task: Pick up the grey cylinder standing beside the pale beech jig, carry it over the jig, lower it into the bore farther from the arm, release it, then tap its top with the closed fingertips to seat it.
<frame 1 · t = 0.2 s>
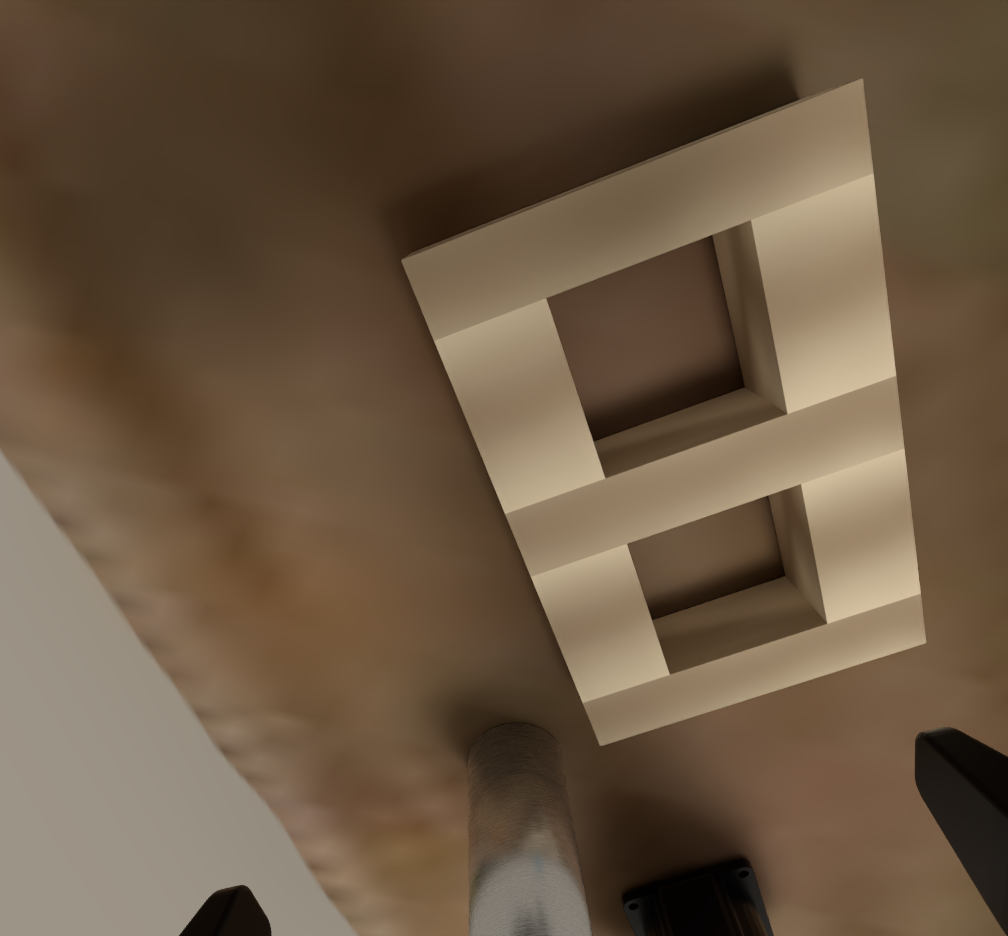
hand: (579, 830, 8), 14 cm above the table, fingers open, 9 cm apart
jig: (673, 446, 21), on the table
grey cylinder: (514, 758, 27), on the table
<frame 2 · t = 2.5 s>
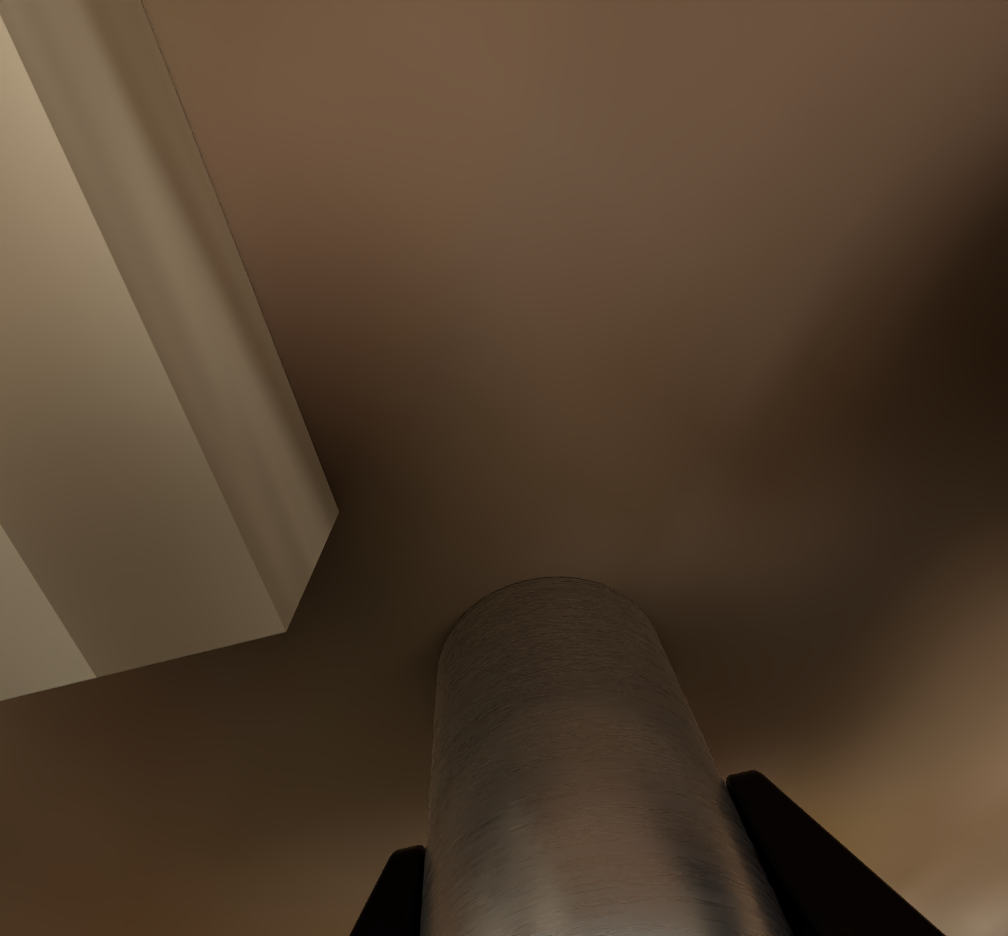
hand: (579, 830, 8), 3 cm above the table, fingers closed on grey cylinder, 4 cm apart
grey cylinder: (550, 674, 11), on the table, touching gripper
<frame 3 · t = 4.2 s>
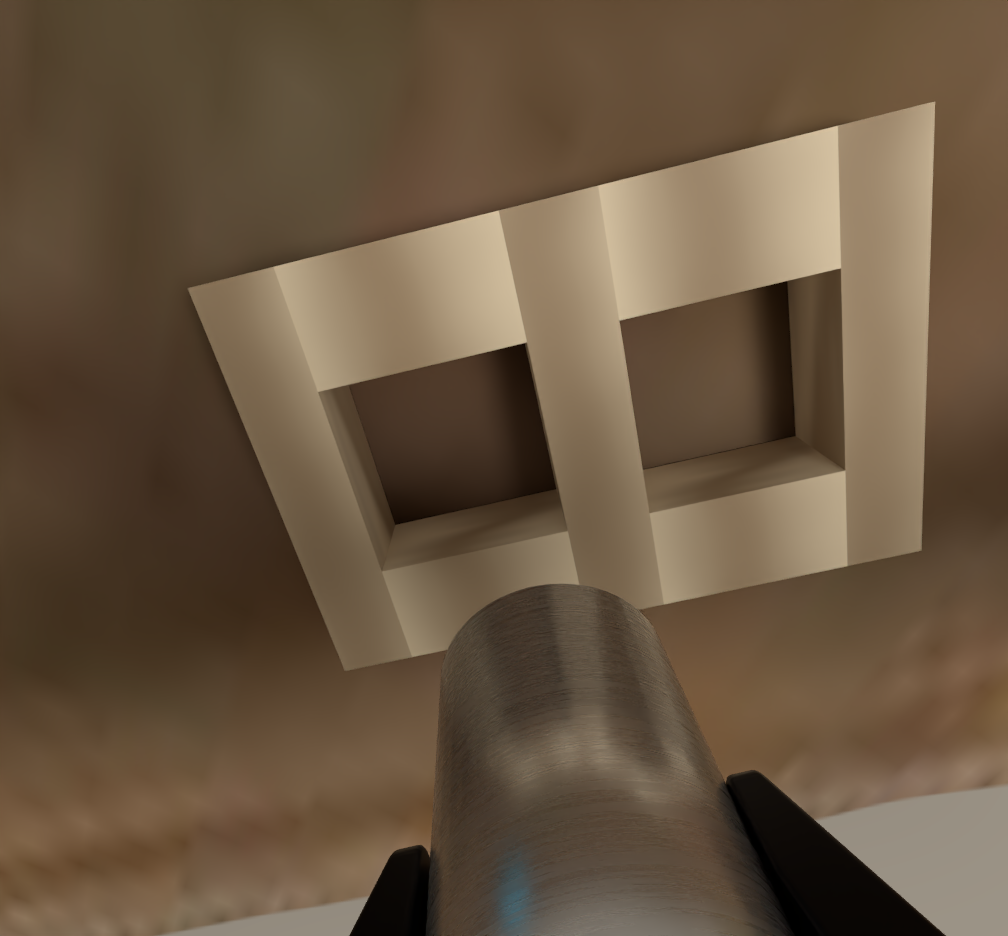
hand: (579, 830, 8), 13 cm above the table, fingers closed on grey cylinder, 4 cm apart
jig: (576, 402, 20), on the table
grey cylinder: (553, 680, 11), point 10 cm above the table, touching gripper
when the fingers open (4 cm above the table, at t = 5.9 s): grey cylinder drops 2 cm, resting in jig.
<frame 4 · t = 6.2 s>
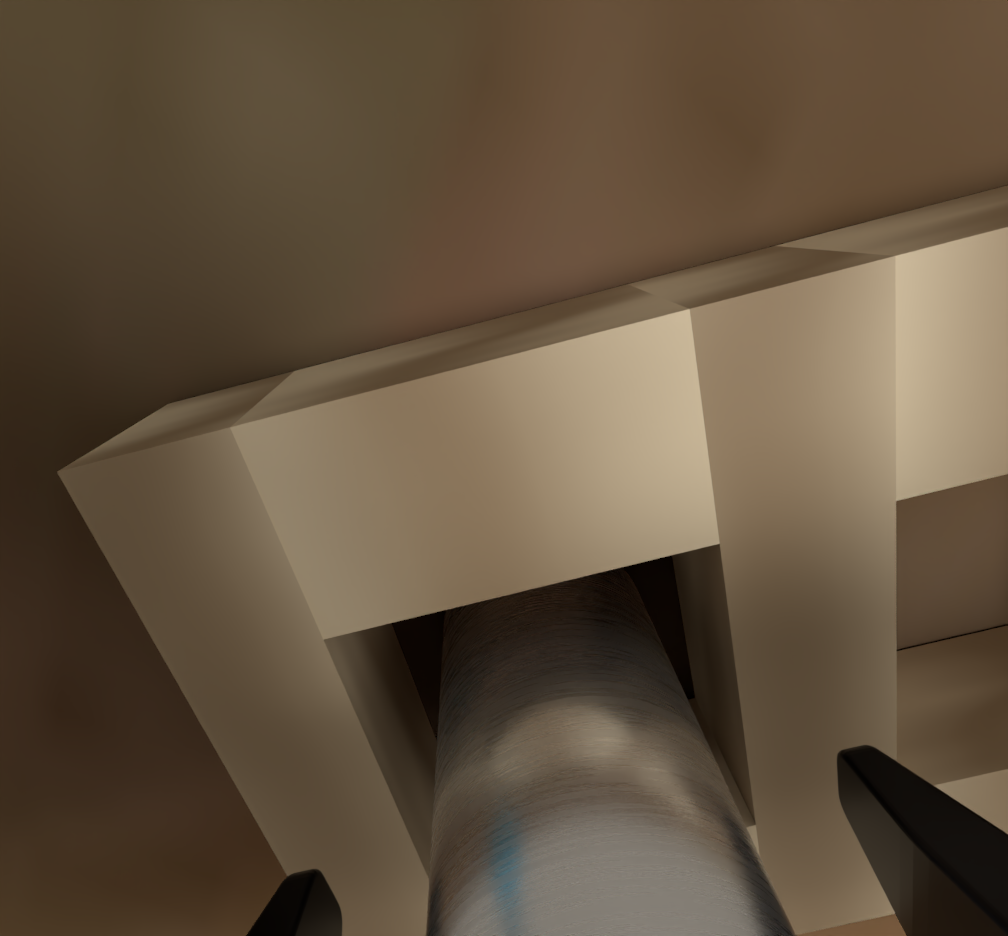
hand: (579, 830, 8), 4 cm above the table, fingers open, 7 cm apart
jig: (737, 576, 12), on the table
grey cylinder: (543, 627, 12), resting in jig
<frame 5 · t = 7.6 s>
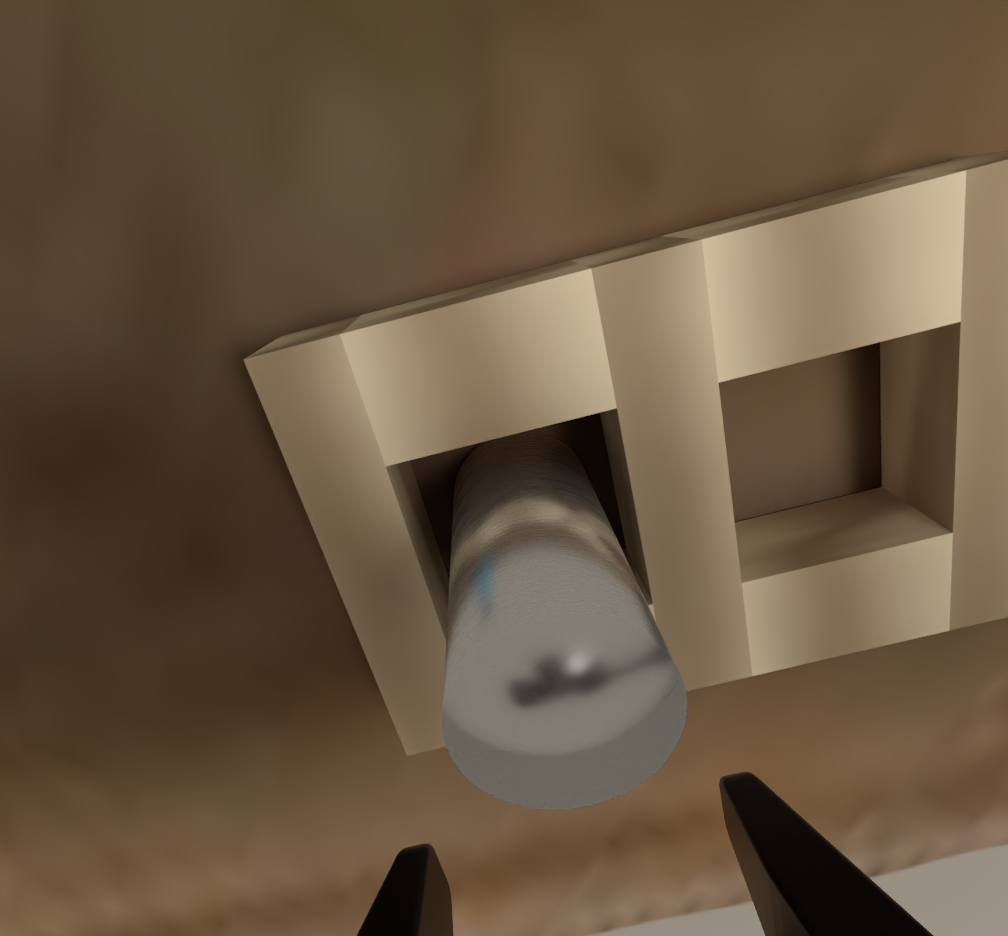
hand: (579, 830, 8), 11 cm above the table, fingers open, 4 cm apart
jig: (650, 458, 18), on the table
grey cylinder: (521, 493, 18), resting in jig
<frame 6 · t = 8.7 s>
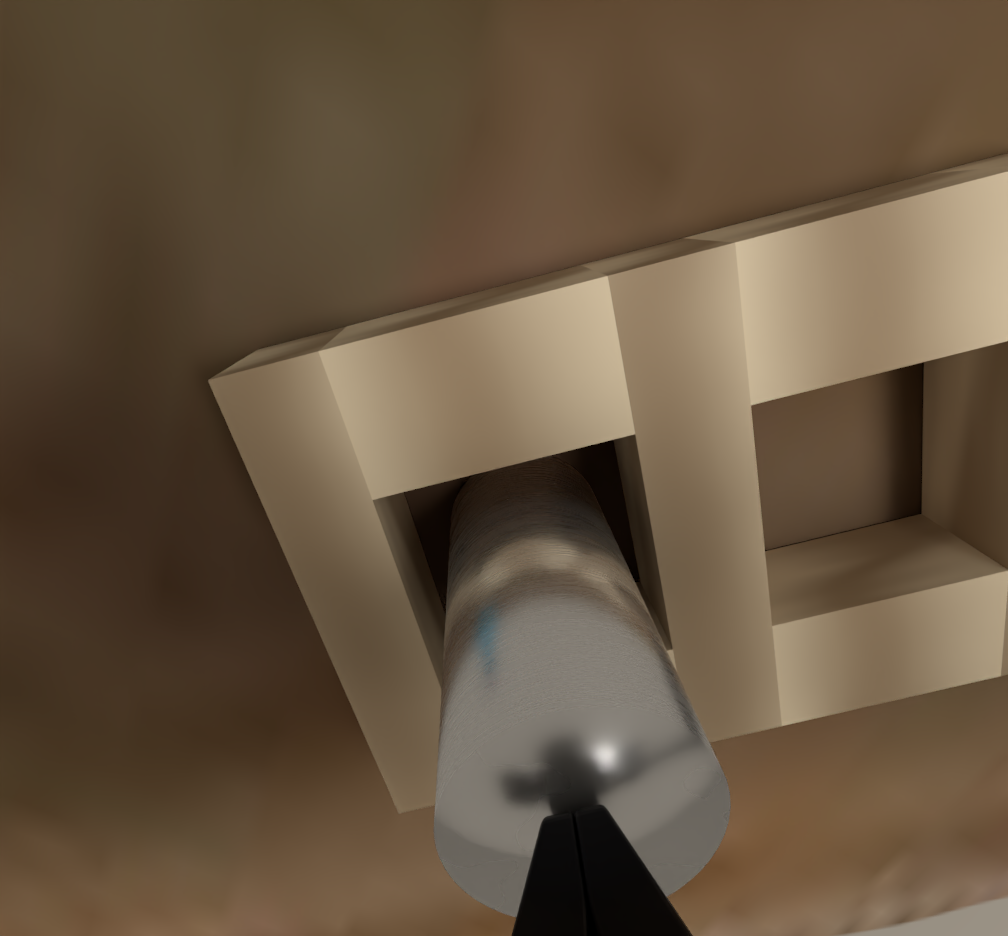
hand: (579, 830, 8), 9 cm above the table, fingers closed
jig: (667, 483, 16), on the table
grey cylinder: (525, 522, 17), resting in jig
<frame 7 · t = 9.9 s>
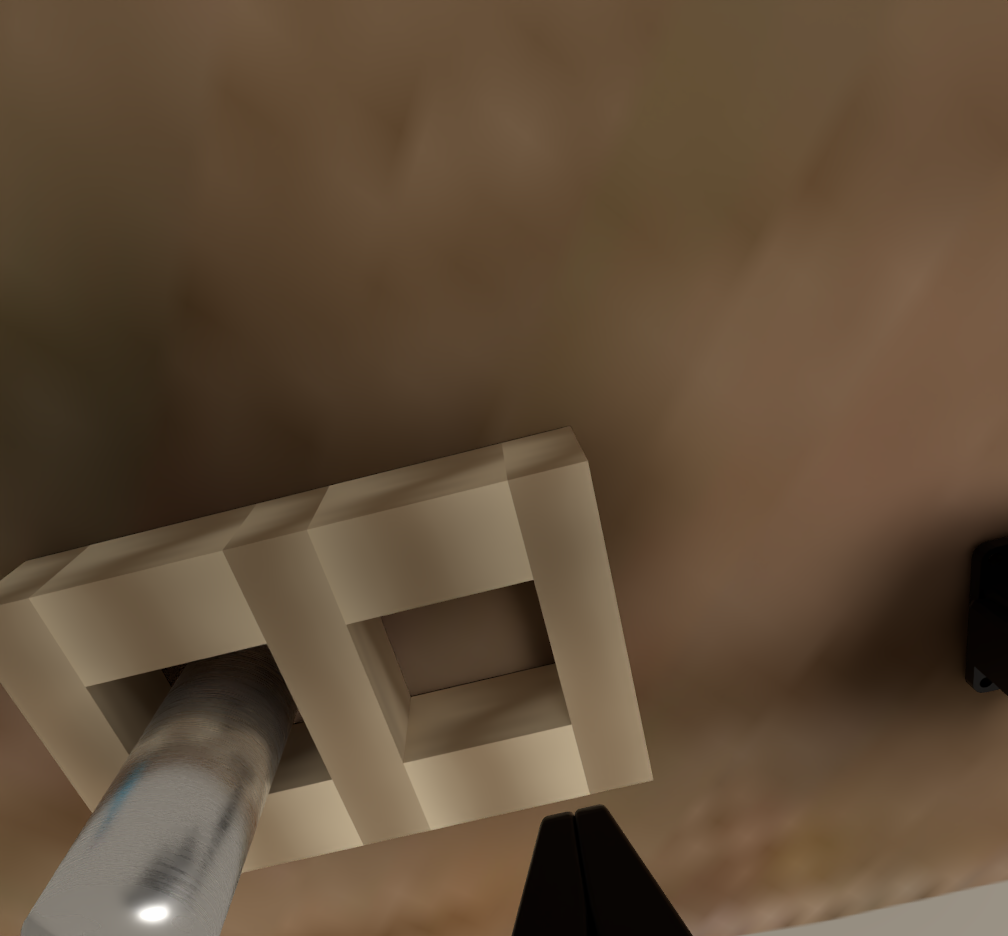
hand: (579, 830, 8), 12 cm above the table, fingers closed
jig: (355, 644, 22), on the table
grey cylinder: (250, 672, 22), resting in jig
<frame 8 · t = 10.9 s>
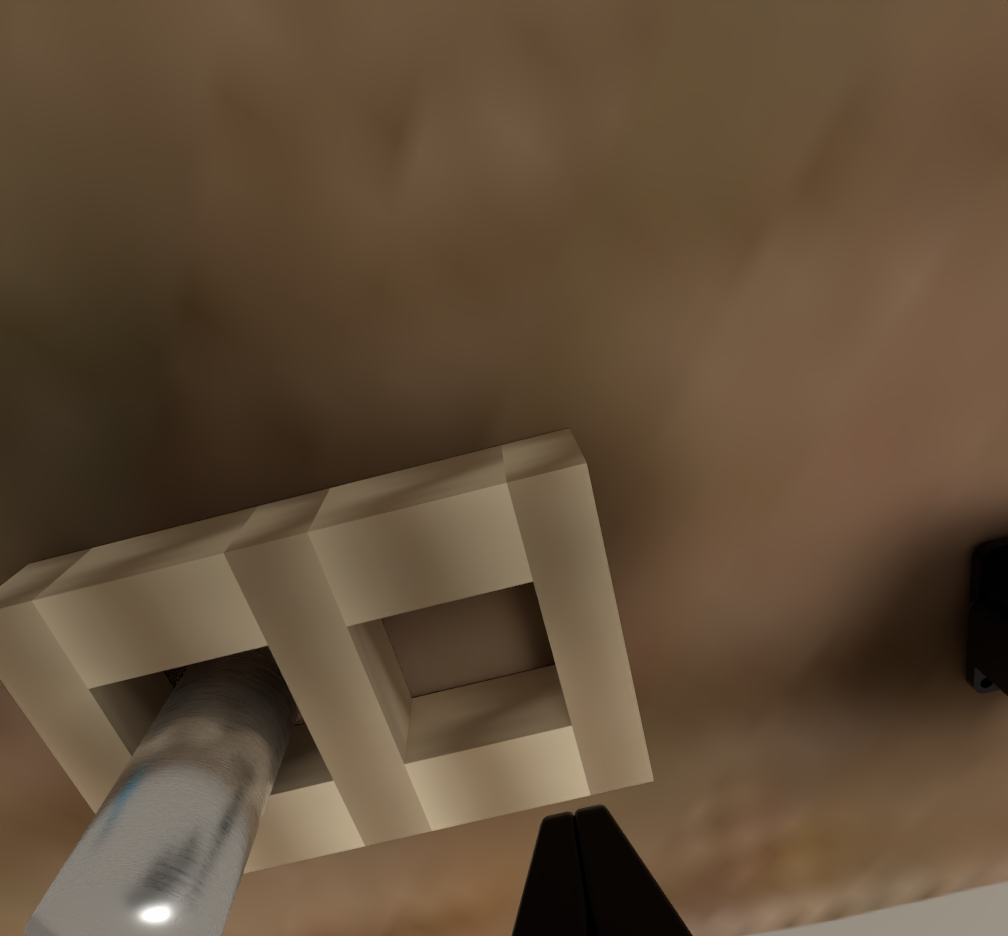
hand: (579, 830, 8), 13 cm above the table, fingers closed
jig: (356, 646, 22), on the table
grey cylinder: (251, 673, 22), resting in jig
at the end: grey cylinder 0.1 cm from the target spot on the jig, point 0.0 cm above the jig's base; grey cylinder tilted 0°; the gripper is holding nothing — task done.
